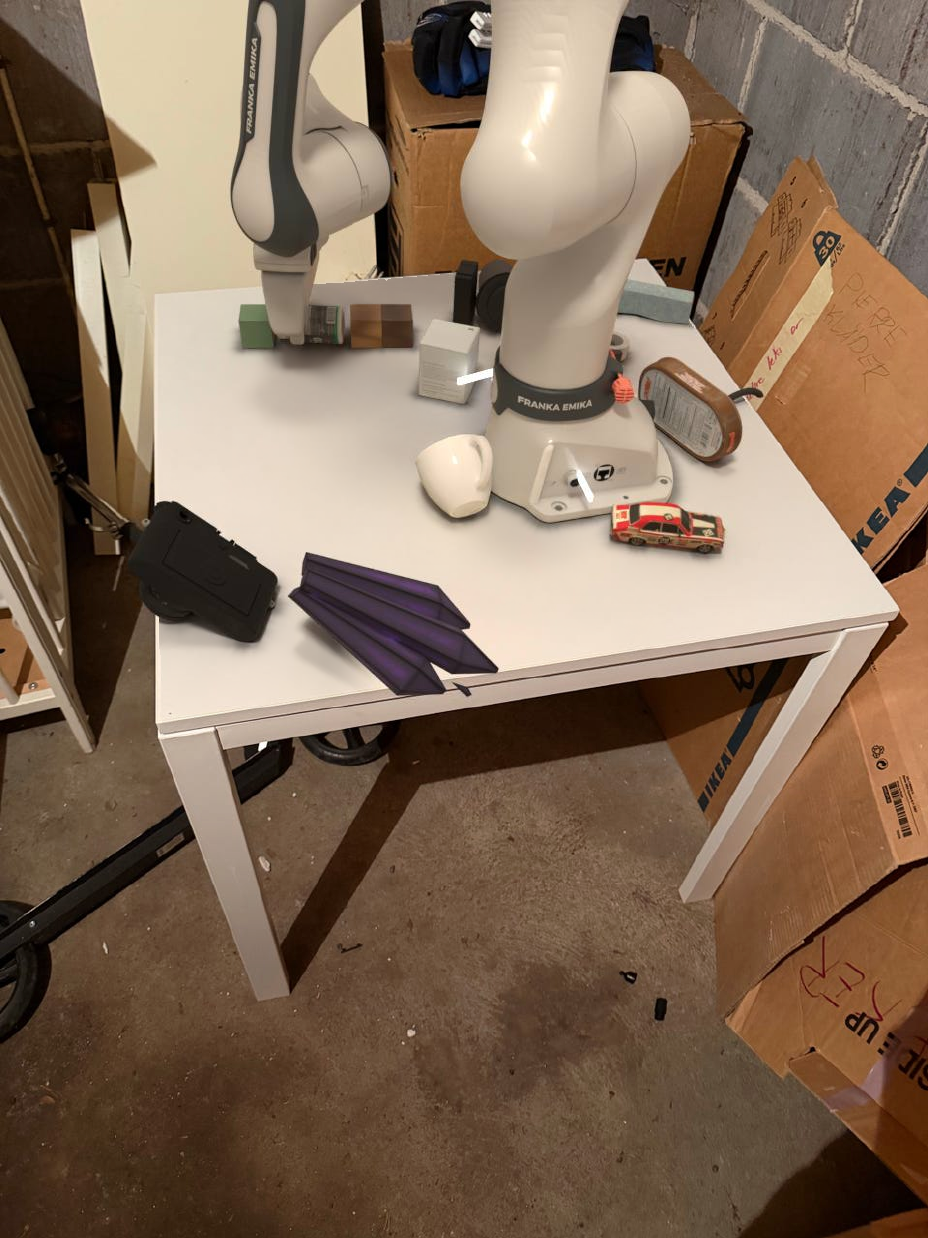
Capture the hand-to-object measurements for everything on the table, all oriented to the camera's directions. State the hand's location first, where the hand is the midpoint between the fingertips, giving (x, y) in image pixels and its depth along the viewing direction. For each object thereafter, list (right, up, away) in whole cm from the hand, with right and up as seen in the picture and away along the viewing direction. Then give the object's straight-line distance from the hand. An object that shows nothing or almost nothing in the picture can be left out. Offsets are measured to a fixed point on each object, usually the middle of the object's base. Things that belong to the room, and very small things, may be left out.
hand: (301, 328), depth 115 cm
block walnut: (+12, -1, +3) cm, 13 cm away
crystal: (+6, -34, -37) cm, 51 cm away
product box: (+19, -9, -4) cm, 22 cm away
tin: (+47, -16, -8) cm, 50 cm away
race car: (+43, -29, -20) cm, 55 cm away
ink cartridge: (+21, +2, +6) cm, 22 cm away
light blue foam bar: (+42, +8, +10) cm, 44 cm away
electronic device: (+36, -4, +1) cm, 36 cm away
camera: (-4, -37, -35) cm, 51 cm away
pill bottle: (+6, 0, 0) cm, 6 cm away
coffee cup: (+26, +10, +9) cm, 29 cm away
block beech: (+8, -1, +2) cm, 9 cm away
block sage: (-6, -1, +1) cm, 6 cm away
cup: (+22, -26, -23) cm, 41 cm away
